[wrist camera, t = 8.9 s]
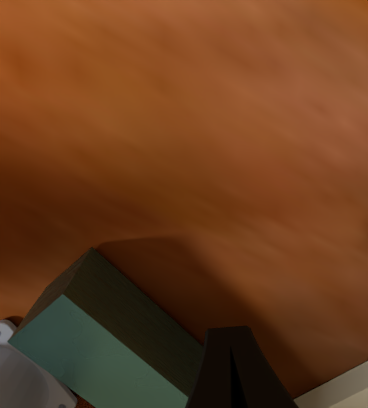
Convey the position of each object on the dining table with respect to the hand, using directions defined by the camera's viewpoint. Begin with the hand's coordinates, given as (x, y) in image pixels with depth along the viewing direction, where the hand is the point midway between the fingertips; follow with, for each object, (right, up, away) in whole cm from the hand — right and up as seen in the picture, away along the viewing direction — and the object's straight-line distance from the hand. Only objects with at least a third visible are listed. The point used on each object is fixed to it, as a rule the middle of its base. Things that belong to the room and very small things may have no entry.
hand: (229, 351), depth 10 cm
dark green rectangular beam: (-3, -4, +10) cm, 11 cm away
